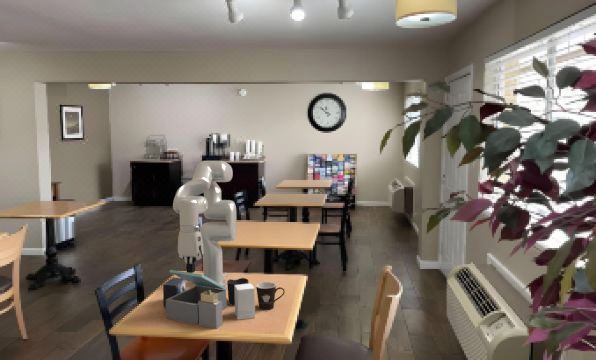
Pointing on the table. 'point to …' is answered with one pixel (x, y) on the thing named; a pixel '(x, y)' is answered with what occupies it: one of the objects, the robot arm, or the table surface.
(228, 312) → the table surface
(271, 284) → the coffee mug
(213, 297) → the latch bolt
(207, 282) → the lid
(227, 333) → the table surface
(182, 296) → the storage box
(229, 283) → the pen holder
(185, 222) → the robot arm
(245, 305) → the supplement box
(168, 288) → the small box
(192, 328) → the table surface
